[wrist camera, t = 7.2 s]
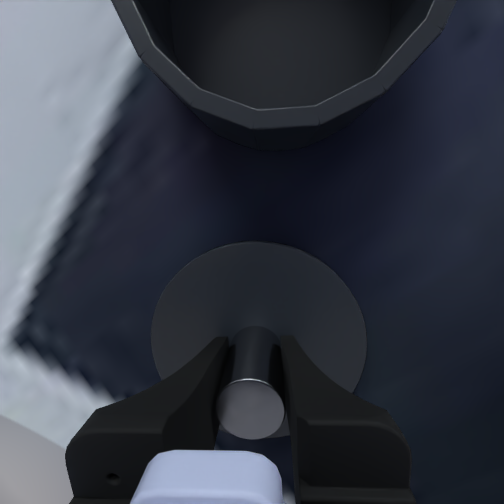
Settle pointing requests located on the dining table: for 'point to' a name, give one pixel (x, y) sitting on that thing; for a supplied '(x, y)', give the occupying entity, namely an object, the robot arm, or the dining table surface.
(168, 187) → the dining table surface
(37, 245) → the dining table surface
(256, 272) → the lid
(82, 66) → the dining table surface
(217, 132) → the pot
